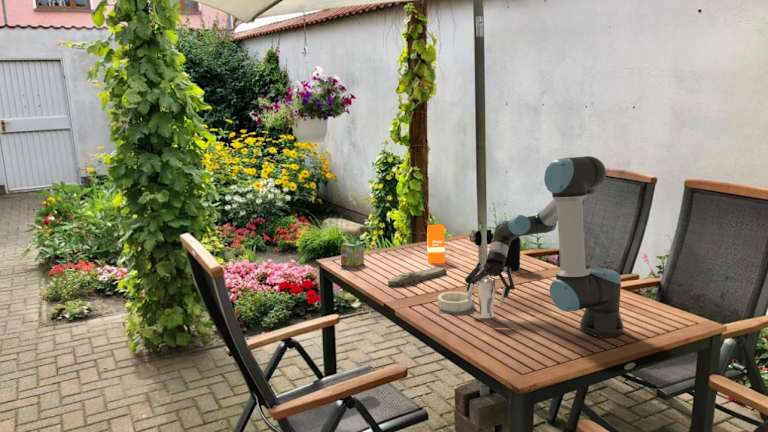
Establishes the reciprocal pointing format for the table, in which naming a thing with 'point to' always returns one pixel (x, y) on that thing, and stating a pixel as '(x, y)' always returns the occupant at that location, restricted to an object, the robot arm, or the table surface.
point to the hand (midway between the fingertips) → (484, 301)
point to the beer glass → (486, 297)
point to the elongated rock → (416, 276)
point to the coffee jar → (513, 255)
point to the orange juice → (436, 244)
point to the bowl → (454, 302)
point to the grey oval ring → (470, 311)
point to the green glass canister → (352, 253)
